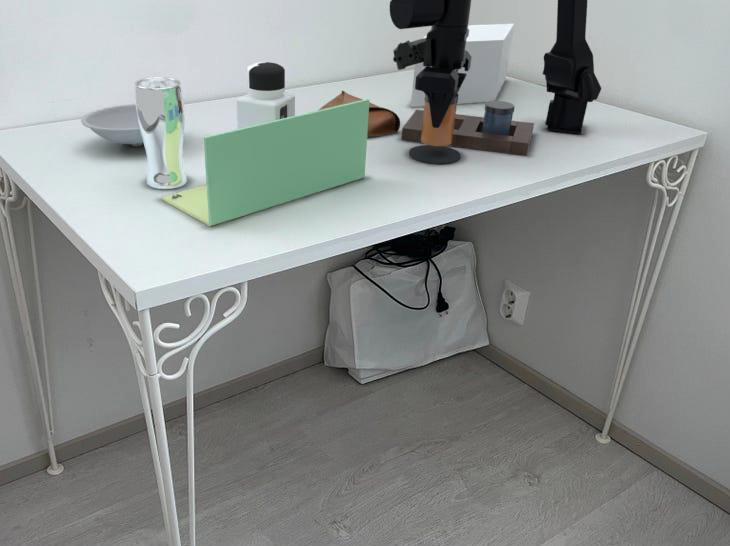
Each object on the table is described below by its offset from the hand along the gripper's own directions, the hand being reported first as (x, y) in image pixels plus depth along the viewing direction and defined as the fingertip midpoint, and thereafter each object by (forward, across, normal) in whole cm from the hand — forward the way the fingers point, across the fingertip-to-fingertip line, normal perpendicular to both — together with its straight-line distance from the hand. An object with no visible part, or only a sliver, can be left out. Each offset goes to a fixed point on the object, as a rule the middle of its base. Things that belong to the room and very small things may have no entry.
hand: (438, 122), depth 127 cm
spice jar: (+6, -12, +9) cm, 16 cm away
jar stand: (+6, -12, +4) cm, 14 cm away
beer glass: (+6, +29, -37) cm, 47 cm away
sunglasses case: (+6, -12, -18) cm, 23 cm away
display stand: (+6, +25, -22) cm, 34 cm away
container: (+6, +4, -30) cm, 31 cm away
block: (+6, -43, -2) cm, 44 cm away
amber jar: (+3, 0, 0) cm, 3 cm away
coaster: (+6, 0, 0) cm, 6 cm away
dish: (+6, +15, -50) cm, 52 cm away
